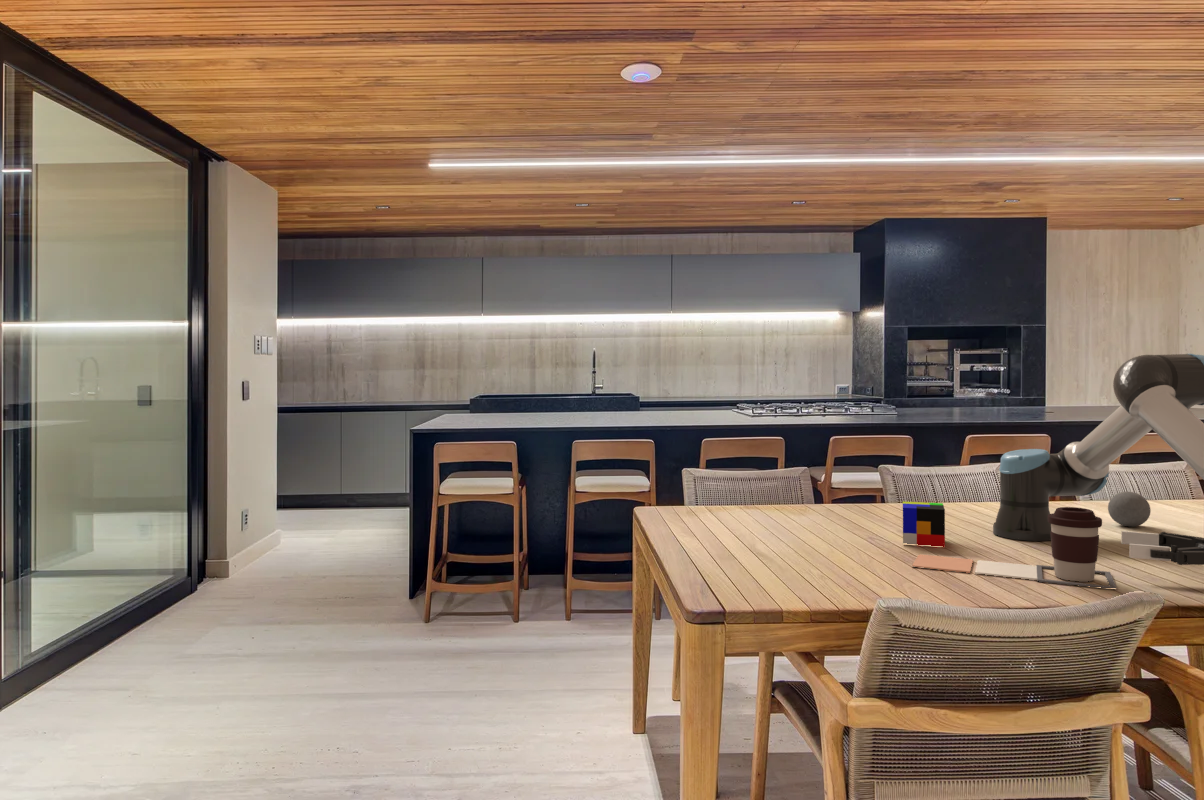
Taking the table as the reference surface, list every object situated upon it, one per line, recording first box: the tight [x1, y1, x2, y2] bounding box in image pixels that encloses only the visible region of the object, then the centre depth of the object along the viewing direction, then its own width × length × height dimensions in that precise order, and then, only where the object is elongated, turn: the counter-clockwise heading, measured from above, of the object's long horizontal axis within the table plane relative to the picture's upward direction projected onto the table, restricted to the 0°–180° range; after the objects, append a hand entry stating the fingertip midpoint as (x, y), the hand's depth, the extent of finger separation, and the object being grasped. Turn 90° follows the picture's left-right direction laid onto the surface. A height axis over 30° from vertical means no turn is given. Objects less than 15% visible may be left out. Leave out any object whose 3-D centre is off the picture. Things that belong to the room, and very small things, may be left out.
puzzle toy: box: [902, 501, 946, 548], centre depth 196 cm, size 10×10×10 cm
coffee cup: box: [1048, 506, 1103, 583], centre depth 160 cm, size 10×10×15 cm
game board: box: [912, 554, 1118, 589], centre depth 167 cm, size 39×14×1 cm, turn 60°
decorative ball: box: [1107, 491, 1152, 528], centre depth 212 cm, size 10×10×10 cm
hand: (1125, 543), depth 155 cm, fingers open, 13 cm apart
